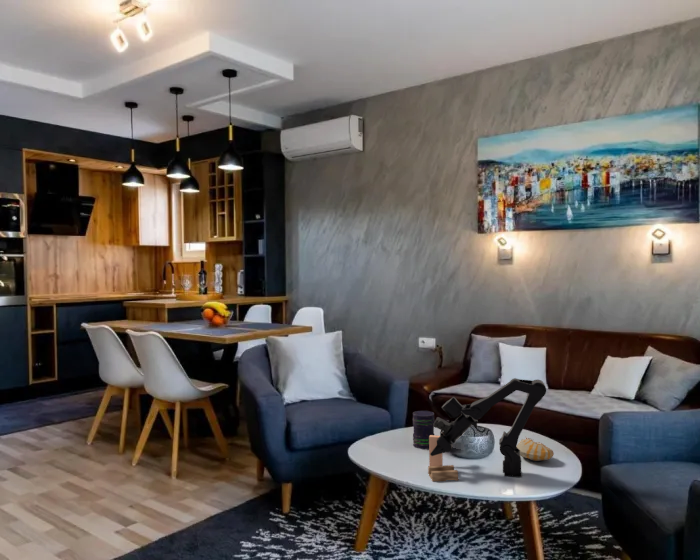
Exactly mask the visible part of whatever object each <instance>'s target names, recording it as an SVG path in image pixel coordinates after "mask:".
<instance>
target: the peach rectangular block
mask: <svg viewBox="0 0 700 560" xmlns="http://www.w3.org/2000/svg"><path fill="white" fill-rule="evenodd" d="M439 437H440V435H435V434H434V435H430V436H429V449H428V450H429V453H428V455H429V458H428V459H429V465H428V466H444V465H443V463H444V462H443V460H444V459H443V453H441V454H438V455H434V456H431V455H430V454H431V452H432V451H433V449H434V448H435V447H436V445H437V439H438V438H439Z"/></svg>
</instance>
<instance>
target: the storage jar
mask: <svg viewBox="0 0 700 560" xmlns="http://www.w3.org/2000/svg"><path fill="white" fill-rule="evenodd" d="M434 422H435V413H434V412H433V411H430V410H416V411H413V412H412V426H413V433H412V441H413V444H412V445H413V447H414V448H416V449H421V450H429V436H430V435H435V433H434V432H435V430H434V429H435V427H434V426H433V425H434Z"/></svg>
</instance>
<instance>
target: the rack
mask: <svg viewBox="0 0 700 560" xmlns="http://www.w3.org/2000/svg"><path fill="white" fill-rule="evenodd" d="M427 474H429V475H428V476H429V478H430V480H431V479H432V480H431V481H432V482H447V481H446V480H455V481H459V471H458V470H457V469H455V466H454V465H453V464H449V465H448V464H447V465H445V464H444V465H443V466H429V465H428V467H427Z"/></svg>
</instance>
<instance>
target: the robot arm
mask: <svg viewBox="0 0 700 560" xmlns="http://www.w3.org/2000/svg"><path fill="white" fill-rule="evenodd" d="M516 391H519V392H522V393H525V394H526V398H525V401H524V402H523V405H522V406H521V408H520V410H519V412H518V414H517V416H516V418H515V420H514V422H513V424H512V425H511V428H510V429H509V431H508V432H506V431H503V432H502V433H503V434H502V436H501V437H500V438H499V442H498V444H499V452H500V455H502V456H503V460H502V473H503V475H504V477H514V478H515V477H516V478H517V477H518V478H522V477H523V476H522V457H521V455H520V450H519V449H518V448H517V447H516V446H517V445H518V443H519V442H518V441H519V438H520V435H521V433H522V431H523V430H524V427H525V425H526V424H527V422H528V419H530V417H531V415H532V412H533V411H534V408H535V407H536V405H537V404H538V403H540V401H542V399H543V398H544V396H546V394H547V388H546V385H545V382H544V381H542V380H540V379H534V380H529V379H521V378H516V377H515V378H511V380H510V381H509V382H507V383H505V384H504V385H502V386H501V387H500V388H497V389H496V390H495V391H494V392H492V393H491V394H489V395H488V396H486V397H484V398H481V399H477V400H475V401H473V402H472V403H469V404H461V403H460V402H459V401H458V400H457V398H456V397H455V396H452V397H451V398H450V399H449V400H447V401H446V402H445V403H443V404H442V406H441V409H442V411H444V412H445V414H446V415H448V417H450V419H452V418H453V419H455V420H454V421H451V422H448V421H447V420H445V419H443V418H441V417H439V416H437V417H436V419H434V425H433V426H434V429H435V428H436V429H438V430H440V432H439V436H440V437H439V438H438V439H437V445H436V447H435V448H434V449H433V451H432V452H431V454H430V455H431V456H434V455H438V454H441V453H442V454H444V453H449V452H451V451H452V450H453V444H455V443H456V441H457V440H458V439H459V438H460V437H461V436H462V435H463V434H464V433H465V432H467V430H468V429H470V427H472V426H473V428H474V429H477V428H478V422H479V421H478V420H480V419H482V418H483V417H485V415H486V414H487V413H488V412H489V410H491V408H492V407H494V406H496V404H498V403H499V402H501V401H502V400H504V399H506V398H507V397H509V396H510V395H511V394H513V393H515V392H516Z"/></svg>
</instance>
